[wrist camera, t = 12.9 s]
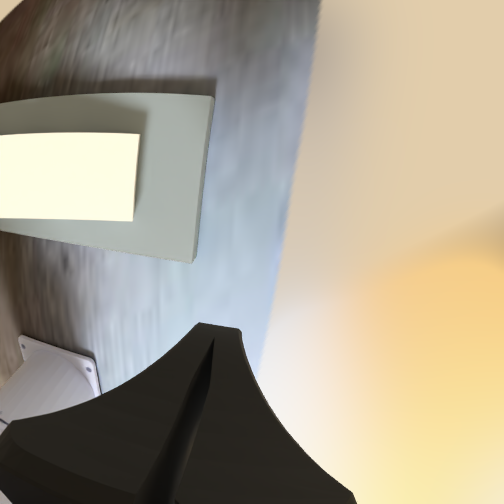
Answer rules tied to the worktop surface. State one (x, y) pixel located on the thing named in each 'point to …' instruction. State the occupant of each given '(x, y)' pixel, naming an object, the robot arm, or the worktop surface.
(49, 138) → the head domino
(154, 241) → the board
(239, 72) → the worktop surface
